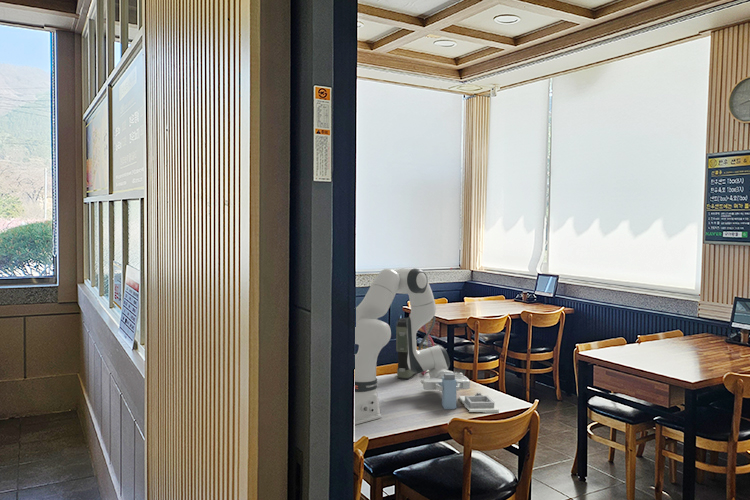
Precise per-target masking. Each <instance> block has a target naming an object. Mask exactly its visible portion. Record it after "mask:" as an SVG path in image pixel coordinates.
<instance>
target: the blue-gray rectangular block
mask: <svg viewBox="0 0 750 500" xmlns="http://www.w3.org/2000/svg"><path fill="white" fill-rule="evenodd" d="M442 386H443V391H441V406H442V407H443V409H444V410H455V408H456V409H457V390H456V379H455V375H454V373H444V377H442Z"/></svg>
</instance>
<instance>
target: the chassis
mask: <svg viewBox="0 0 750 500" xmlns="http://www.w3.org/2000/svg"><path fill="white" fill-rule="evenodd" d="M458 400H459V401H460V402H461V403H462V404H464V405H463V406H464V408H465V409H466V408H467V409H468V410H469V411H468V410H467V409H466V410H467V411H468V413H469V412H485V414H493V413H497V414H498V413H500V410H499V408H498V407H497V405H495V402H494V401H493V400H492V399H491V397H490V396H489V395H483V394H482V393H481V392H476V393H475V394H474V395H458Z"/></svg>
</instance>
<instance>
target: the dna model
mask: <svg viewBox="0 0 750 500" xmlns="http://www.w3.org/2000/svg"><path fill="white" fill-rule="evenodd" d="M435 323H436V316H435V315H434V317H433V318H432V319H431V320H430V321H429V322H428V323H426V324H425V325H423V326H422V327H421V329H422V330H423V331H424V333H425V335H424V337H423V338H422V340H421V341H420V343H419V345H418V346H417V347H418V349H417V350H422V349H426V348H429V347H433V346H436V345H435V342H434V340H433V338H432V337H431V335H430V334H431V333H432V331H433V328H434V326H435ZM427 372H428V373H429V370H427V371H424V372H422V373H421V375H422V376H423V375H425V374H426V373H427Z"/></svg>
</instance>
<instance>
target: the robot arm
mask: <svg viewBox="0 0 750 500" xmlns="http://www.w3.org/2000/svg"><path fill="white" fill-rule="evenodd" d="M396 294H401V295H402V294H403V295H408V298H409V299H408V300H409V304H410V314H409V316H408V317H406V318H407V322H406V329H407V348H408V358H407V363H408V367H409V369H410V371H412V372H414V373H416V375H419V374H422V372H424V371H426V372H427V371H428V375H429V377H424V378H423V379H421V380H420V383H421V384H422V388H423V390H425V391H434V390H435V391H441V392H442V391H443V386H442V377H444V373H454V375H455V379H456V391H460V390H469V389H470V388H471V381H470V379H469V378H468V377H467V376H465V375H464V374H463V372H460V371H452V370H449V368H450V366H451V361H450V357H449V354H448V352H447V350H446V349H445V347H443V346H442V345H440V344H437V345H435V346H428V347H429V348H421V350H418V349H417V347H418V346H417V342H416V341H417V333H418V331H419V330H420V329H422V326H423V325H426V324H429V323H430V322H429V321H432V320H433V319H432V318H433V317H434V316H435V315H436V313H437V312H436V311H437V306H436V301H435V297H434V294H433V290H432V288H431V285H430V283H429V281H428V276H427V274H426V272H425V271H424V270H423V269H421V268H398V269H397V268H396V269H391V268H384V269H382V270H381V271H380V272H379V273H378V274H377V275H376V276H375V278H374V279H373V281H372V283H371V284H370V286H369V288H368V290H367V292H366V293H365V296H364V298H363V299H362V301H361V302H360V303H359V304H358V305H357V306H356V307H355V308H356V327H355V344H354V345H358V350H357V353H355V354H354V355H355V425H359V424H362V423H366V422H371V421H374V420H377V419H378V420H379V419H382V414H381V410H380V403H379V396H378V391H377V389H378V378H377V361H378V356H379V354H380V352H381V351H382V349H383V348H384V347H385V346H386V345H388V344H389V343H390V340H391V337H392V331H391V330H392V329H391V327H390V325H389V324H388V323H387V322H385V321H382V320H381V319H380V318H382V317H384V316H385V315H386V314H387V312H388V311H389V309H390V307H391V305H392V303H393V301H394V299H395V296H396ZM355 425H354V426H355Z"/></svg>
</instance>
